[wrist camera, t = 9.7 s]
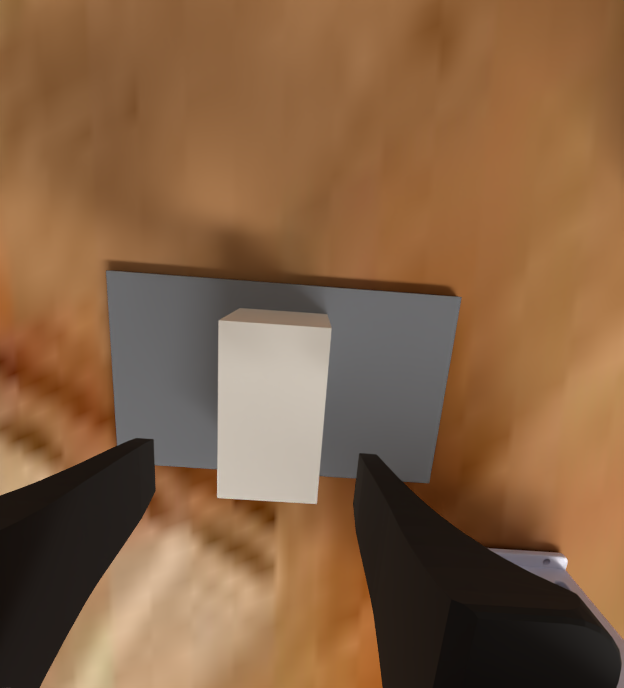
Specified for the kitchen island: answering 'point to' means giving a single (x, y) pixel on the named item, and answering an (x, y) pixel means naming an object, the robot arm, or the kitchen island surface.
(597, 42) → the kitchen island surface
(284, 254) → the kitchen island surface
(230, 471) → the block
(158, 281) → the mat
